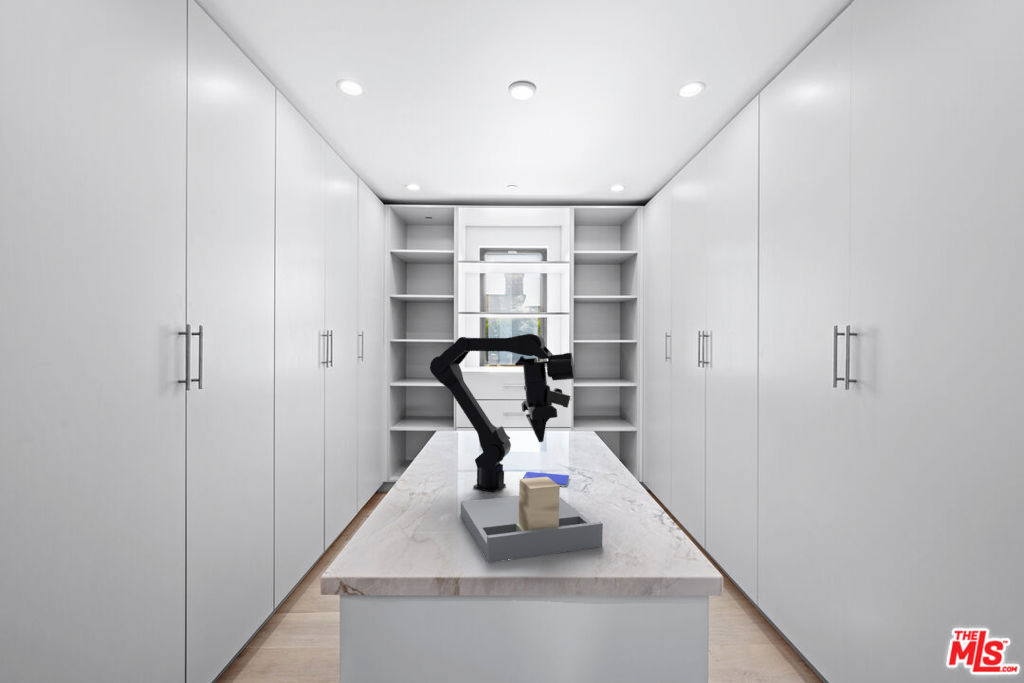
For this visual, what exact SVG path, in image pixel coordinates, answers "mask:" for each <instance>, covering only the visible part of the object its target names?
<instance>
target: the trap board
mask: <svg viewBox="0 0 1024 683" xmlns="http://www.w3.org/2000/svg"><path fill="white" fill-rule="evenodd" d="M461 516H462V517H461ZM460 517H461V518H462V520H463V522H464V521H465V522H464V523H466V524H465V525H466V528H467V529H468V528H469V529H468V531H469V530H470V531H469V532H470V534H471V533H472V534H471V536H472V535H473V536H472V537H473V539H474V541H475V540H476V541H475V543H476V542H477V543H476V545H477V546H478V548H479V549H481V550H480V551H481V553H482V555H483V554H484V555H483V557H484V556H485V557H484V558H485V560H486V562H487V561H488V562H487V563H488V564H489V563H490V562H491V563H497V562H496V561H498V562H503V561H502V560H505V561H509V560H508V559H512V560H519V559H525V558H532V557H539V556H546V555H553V554H554V555H555V554H558V553H559V554H561V553H566V552H567V551H568V552H574V551H581V550H586V549H587V550H588V549H595V548H601V547H603V533H604V532H603V531H604V530H603V529H604V526H603V525H604V524H603V522H602V521H593V522H592V521H591V520H590V519H588V518H587V517H586V516H584V514H582V513H581V512H580V511H578V510H577V509H576V508H575V507H573V506H572V505H571V504H570V503H568V502H567V501H566V500H565V499H563V498H562V497H561V496H560V495H559V527H552V528H544V529H536V530H528V531H524V529H523V528H522V527H521V526H520V525H519V495H517V496H516V495H514V496H505V497H496V498H494V497H493V498H484V499H473V500H463V501H460ZM560 552H561V553H560ZM568 552H567V553H568ZM518 558H519V559H518ZM491 563H490V564H491Z"/></svg>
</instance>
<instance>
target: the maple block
mask: <svg viewBox="0 0 1024 683" xmlns="http://www.w3.org/2000/svg"><path fill="white" fill-rule="evenodd" d="M518 485H519V488H518V490H519V495H518V496H519V525H520V526H521V527H522V528H523V529H524V531H528V530H536V529H544V528H552V527H559V496H560V486H559V485H558V484H556V483H555V482H554V481H552V480H551V479H550V478H548V477H537V478H526V479H523V478H519V484H518Z"/></svg>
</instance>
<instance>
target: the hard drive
mask: <svg viewBox="0 0 1024 683" xmlns="http://www.w3.org/2000/svg"><path fill="white" fill-rule="evenodd" d="M537 477H548V478H550V479H551V480H552V481H554V482H555V483H556V484H558V485H559V486H566V487H565V488H567V487H568V483H569V480H570V475H568V474H561V473H559V474H557V473H548V472H535V471H526V473H525V474H524V475H523V477H522V479H526V478H537Z"/></svg>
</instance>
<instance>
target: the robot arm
mask: <svg viewBox="0 0 1024 683" xmlns="http://www.w3.org/2000/svg"><path fill="white" fill-rule="evenodd" d="M470 352H507V353H513V354H517V355H520V357H519V359H518V360H517V361H516V362H515V364H514V365H515V366H516V367H518V366H520V367H521V366H523V368H522V369H523V376H524V377H523V378H524V386H523V391H525V400H523V401H522V402H521V411H522V412H523V413H525V412H526V411H527V412H528V413H527V414H525V417H526V418H527V420H528V423H529V425H530V427H531V429H532V431H533V432H534V435H535V437H536V439H537V441H538V442H539V443H543V442H544V439H545V438H544V437H545V434H546V428H547V427H546V425H547V422H548V421H549V420H550V419H555V418H558V409H556V407H555V406H553V404H555V405H559V406H562V407H563V408H566V409H567V408H569V403H570V399H571V395H568V394H565V393H563V390H562V389H561V388H558V387H557V388H556V387H555V388H554V389H553V390H551V387H550V385H549V384H548V383H547V382H548V381H547V380H548V379H547V376H548V378H551V379H552V381H564V380H567V381H568V380H575V379H576V365H575V363H574V358H573V353H572V352H566V353H560V354H559V353H558V354H553V353H552V352H551V350H549V349H548V348H547V346H546V342H545V340H544V338H543V337H542V336H541V335H539V334H538V333H526V334H525V333H524V334H521V335H515V336H509V337H469V336H460V337H459V338H458V339H456V341H455V342H454V343H453V344H452V345H450V346H449V347H448V348H447V349H445V350H444V351H443V352H442V353H440V355H438V356H435V357H433V358H432V360H431V361H430V366H429V370H430V372H431V374H432V375H433V376H434V377H435V379H437V381H438V382H439V383H440V384H442V385H443V386H444V387H446V389H447V390H449V391H450V393H451V394H452V396H453V398H454V399H455V400H456V402H457V404H458V405H459V406H460V409H461V410H462V411H463V414H465V416H466V418H467V419H468V421H469V422H470V424H471V426H472V427H473V429H474V431H476V433H477V437H478V442H479V445H480V448H481V451H482V453H481V454H479V455H478V456H477V457H476V458H475V459H474V461H475V462H474V463H475V465H476V484H474V485H472V486H473V489H477V490H481V491H485V492H491V493H494V492H496V491H498V490H500V489H503V488H505V487H506V486H507V484H506V483H505V470H504V464H502V463H501V462H502V461H503V460H504V458H505V457H506V456H507V455H508V454H509V453H510V452H511V447H512V445H511V444H512V443H511V441H510V439H511V437H510V436H509V435H508V434H507V432H506V431H505V429H504V427H503V425H501V426H499V427H496V426H495V425H494V424H493V423H492V422H491V420H490V419H489V417H488V416H487V414H486V413H485V411H484V410H483V408H482V407H481V405H480V403H479V402H478V401H477V399H476V397H475V396H474V394H473V393H472V391H471V390H470V388H469V386H468V385H467V384H466V382H465V380H464V376H463V372H462V369H461V366H460V364H461V363H462V362H463V361H464V359H466V357H467V355H468V354H469V353H470ZM525 356H526V357H529V358H526V357H525ZM530 357H531V358H530ZM538 359H540V360H541V361H538ZM543 360H544V361H543Z"/></svg>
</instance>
